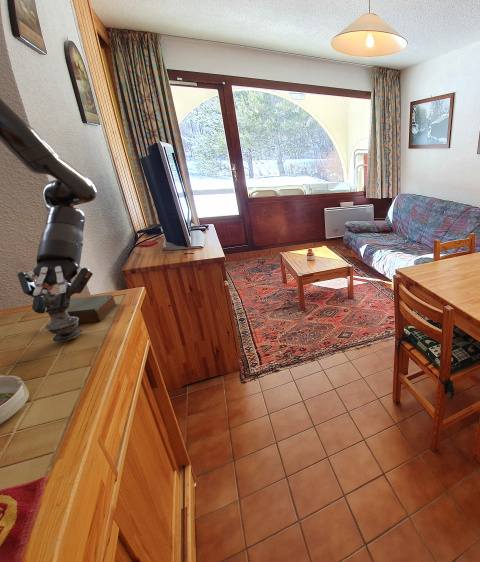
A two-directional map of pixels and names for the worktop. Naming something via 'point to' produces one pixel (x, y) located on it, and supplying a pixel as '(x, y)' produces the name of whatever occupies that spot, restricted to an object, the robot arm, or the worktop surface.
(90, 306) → the walnut stand
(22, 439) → the worktop surface
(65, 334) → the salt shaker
